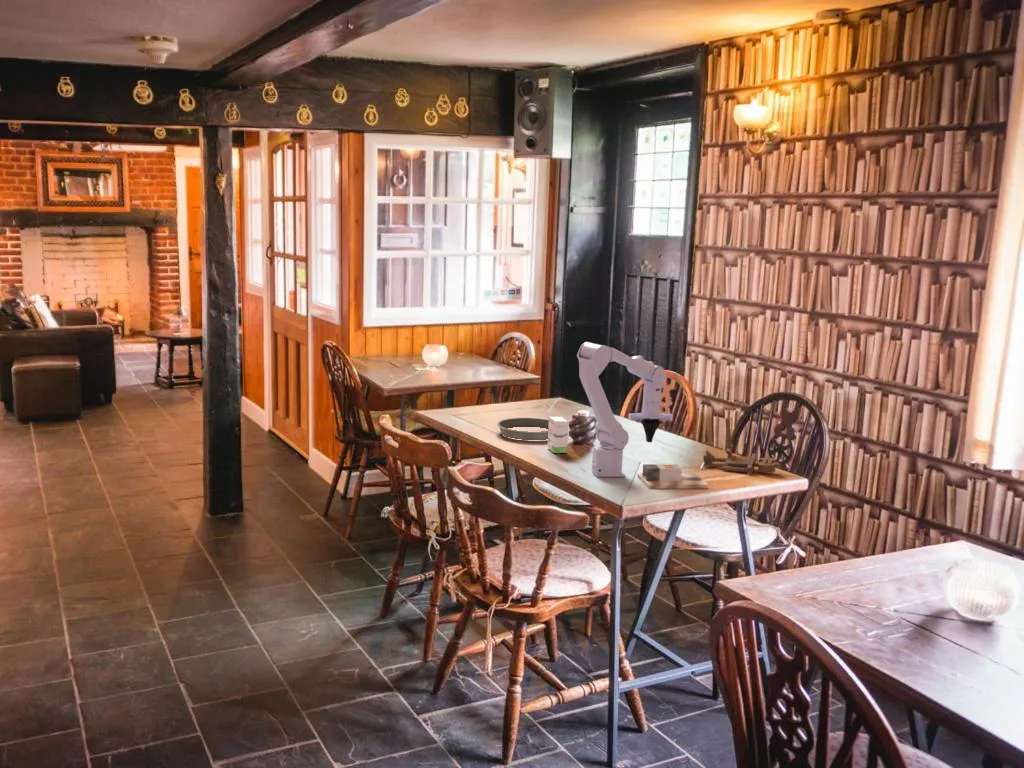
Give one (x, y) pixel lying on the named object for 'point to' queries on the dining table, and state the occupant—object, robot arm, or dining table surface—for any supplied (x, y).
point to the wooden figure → (739, 459)
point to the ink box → (557, 434)
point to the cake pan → (524, 423)
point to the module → (670, 473)
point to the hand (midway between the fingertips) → (649, 441)
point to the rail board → (652, 481)
